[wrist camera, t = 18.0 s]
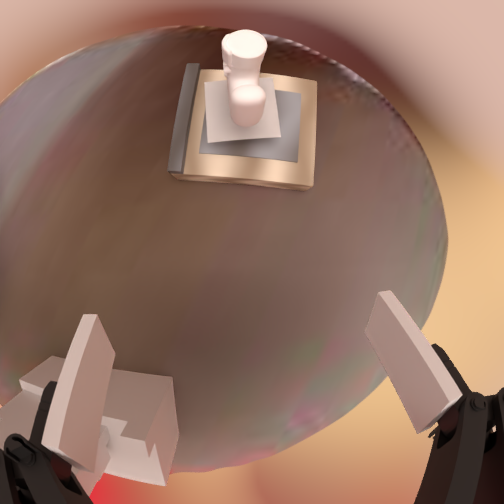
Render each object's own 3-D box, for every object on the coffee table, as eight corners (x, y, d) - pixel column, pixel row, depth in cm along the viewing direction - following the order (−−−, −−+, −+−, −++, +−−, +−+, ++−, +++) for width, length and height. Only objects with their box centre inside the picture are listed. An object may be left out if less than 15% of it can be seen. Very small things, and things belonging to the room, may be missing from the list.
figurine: (268, 84, 29) (286, 0, 14) (277, 156, 30) (309, 96, 15) (207, 89, 29) (189, 5, 14) (211, 162, 30) (189, 103, 15)
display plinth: (177, 179, 34) (167, 170, 28) (193, 84, 33) (187, 63, 27) (305, 191, 35) (316, 184, 29) (309, 94, 34) (319, 75, 28)
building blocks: (172, 376, 36) (113, 517, 11) (179, 435, 36) (147, 562, 12) (52, 355, 35) (-46, 428, 10) (67, 411, 35) (-3, 494, 11)
